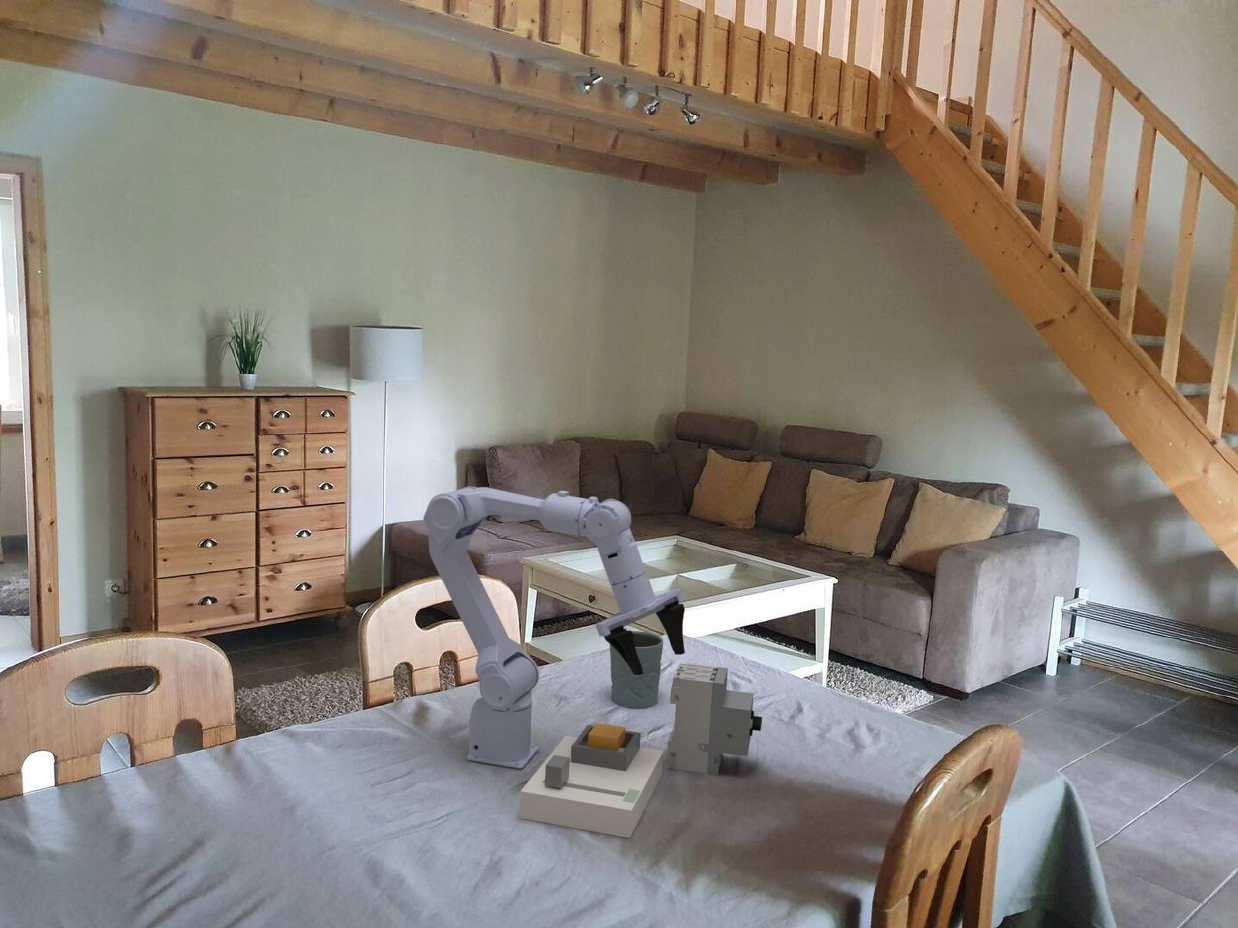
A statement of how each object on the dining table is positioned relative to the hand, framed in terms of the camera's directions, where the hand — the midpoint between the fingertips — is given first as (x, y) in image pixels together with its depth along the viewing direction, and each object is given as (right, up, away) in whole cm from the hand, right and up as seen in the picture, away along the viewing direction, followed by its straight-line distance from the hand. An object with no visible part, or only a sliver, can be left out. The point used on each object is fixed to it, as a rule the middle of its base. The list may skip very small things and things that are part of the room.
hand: (659, 663), depth 143 cm
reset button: (-8, -13, +3) cm, 15 cm away
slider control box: (-10, -19, -2) cm, 22 cm away
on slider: (-15, -15, -7) cm, 22 cm away
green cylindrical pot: (-3, -15, +37) cm, 40 cm away
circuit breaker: (+9, -19, +11) cm, 24 cm away
